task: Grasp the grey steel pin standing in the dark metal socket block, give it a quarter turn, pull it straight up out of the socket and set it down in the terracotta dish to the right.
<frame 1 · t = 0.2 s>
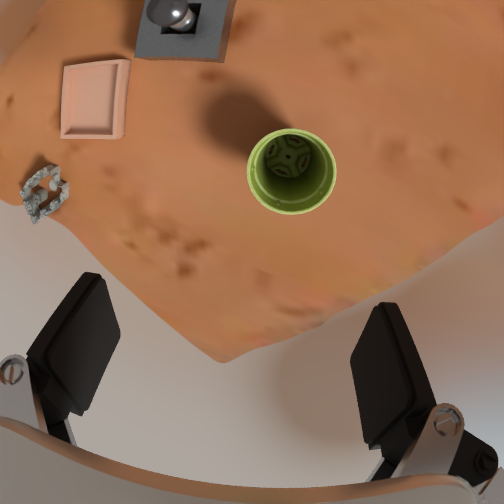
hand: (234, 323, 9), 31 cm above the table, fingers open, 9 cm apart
tray: (97, 98, 32), on the table
socket block: (191, 26, 27), on the table
plant pot: (287, 155, 36), on the table
egg carton: (50, 189, 40), on the table
pin: (180, 18, 23), in the socket block
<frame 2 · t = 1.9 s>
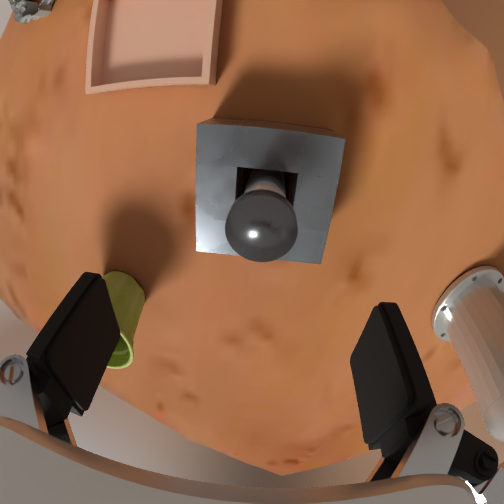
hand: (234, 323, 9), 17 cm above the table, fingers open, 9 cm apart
tray: (156, 34, 18), on the table
socket block: (266, 178, 24), on the table
plant pot: (124, 289, 33), on the table
pin: (264, 198, 20), in the socket block
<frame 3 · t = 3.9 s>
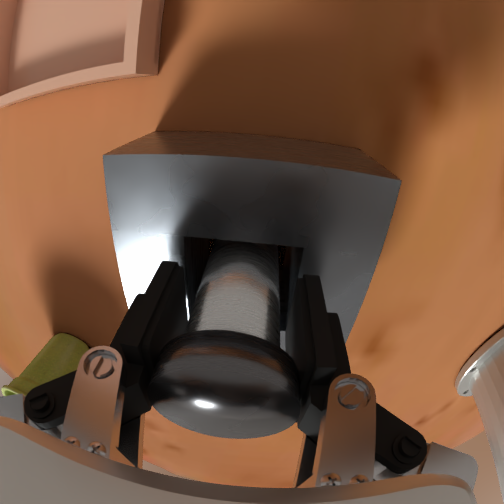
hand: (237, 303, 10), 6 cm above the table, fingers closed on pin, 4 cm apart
tray: (74, 8, 8), on the table
socket block: (248, 229, 15), on the table
plant pot: (78, 351, 23), on the table
pin: (239, 290, 11), in the socket block, touching gripper
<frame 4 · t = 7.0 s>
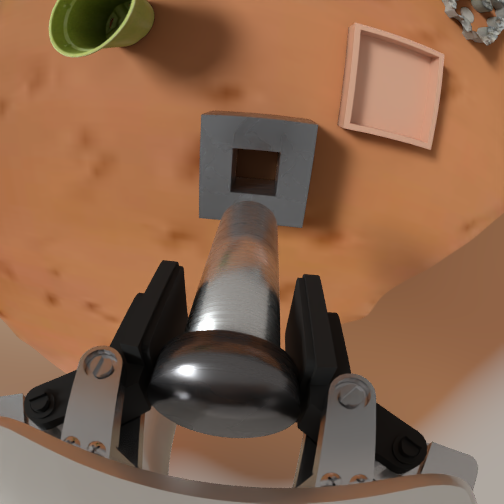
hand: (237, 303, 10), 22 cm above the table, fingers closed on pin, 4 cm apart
tray: (389, 86, 24), on the table
socket block: (257, 159, 29), on the table
plant pot: (131, 23, 21), on the table
egg carton: (469, 8, 16), on the table
pin: (239, 289, 11), point 22 cm above the table, touching gripper
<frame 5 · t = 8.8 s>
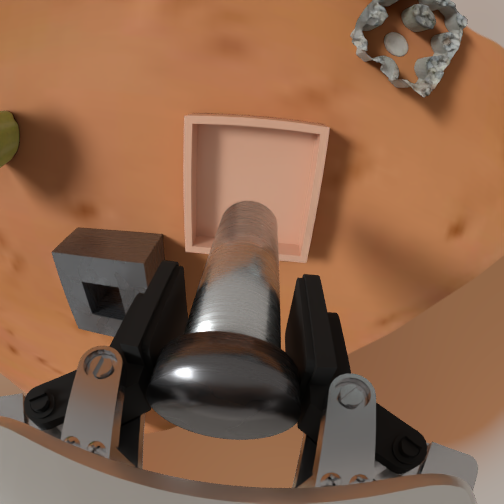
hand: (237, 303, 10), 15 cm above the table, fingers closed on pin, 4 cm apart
tray: (252, 183, 23), on the table
socket block: (123, 272, 29), on the table
plant pot: (6, 135, 21), on the table
egg carton: (401, 31, 16), on the table
pin: (239, 290, 11), point 14 cm above the table, touching gripper
when the fingers open (8 cm above the table, at t = 10.3 s): pin drops 1 cm, resting on tray.
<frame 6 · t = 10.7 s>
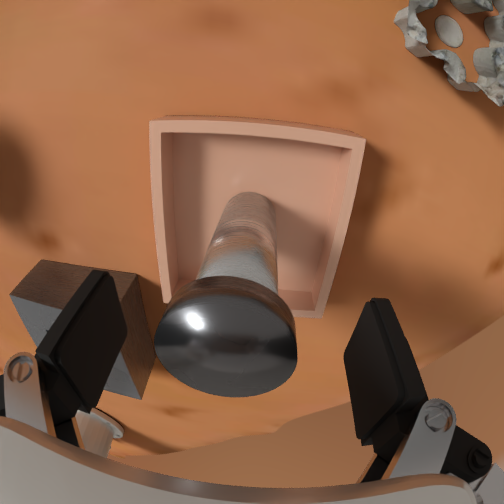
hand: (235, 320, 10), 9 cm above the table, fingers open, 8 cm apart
tray: (250, 213, 17), on the table
socket block: (97, 312, 23), on the table
egg carton: (449, 13, 9), on the table
pin: (240, 263, 12), in the tray, point 6 cm above the table
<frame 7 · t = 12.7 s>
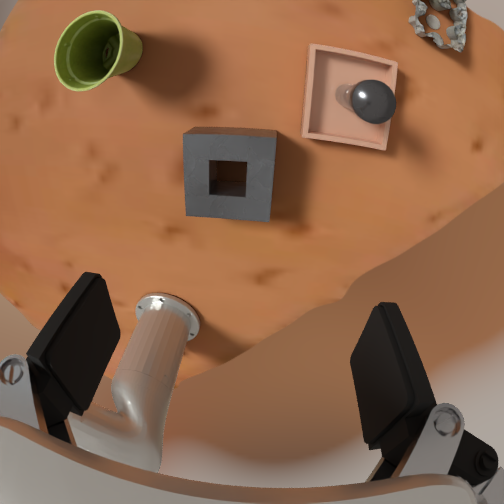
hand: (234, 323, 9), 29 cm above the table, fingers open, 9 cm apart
tray: (346, 95, 29), on the table
socket block: (233, 165, 35), on the table
plant pot: (123, 52, 27), on the table
egg carton: (432, 12, 20), on the table
pin: (359, 98, 24), in the tray, point 6 cm above the table
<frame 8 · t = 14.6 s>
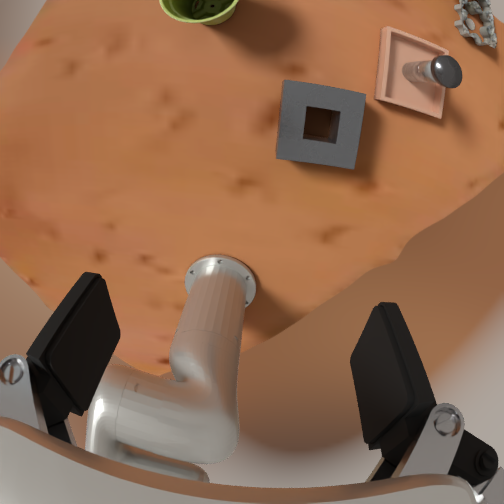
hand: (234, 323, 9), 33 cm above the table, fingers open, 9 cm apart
tray: (409, 72, 30), on the table
socket block: (315, 120, 36), on the table
plant pot: (214, 7, 27), on the table
egg carton: (467, 16, 22), on the table
pin: (428, 71, 25), in the tray, point 6 cm above the table
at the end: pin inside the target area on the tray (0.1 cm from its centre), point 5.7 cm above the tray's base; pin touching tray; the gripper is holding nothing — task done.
